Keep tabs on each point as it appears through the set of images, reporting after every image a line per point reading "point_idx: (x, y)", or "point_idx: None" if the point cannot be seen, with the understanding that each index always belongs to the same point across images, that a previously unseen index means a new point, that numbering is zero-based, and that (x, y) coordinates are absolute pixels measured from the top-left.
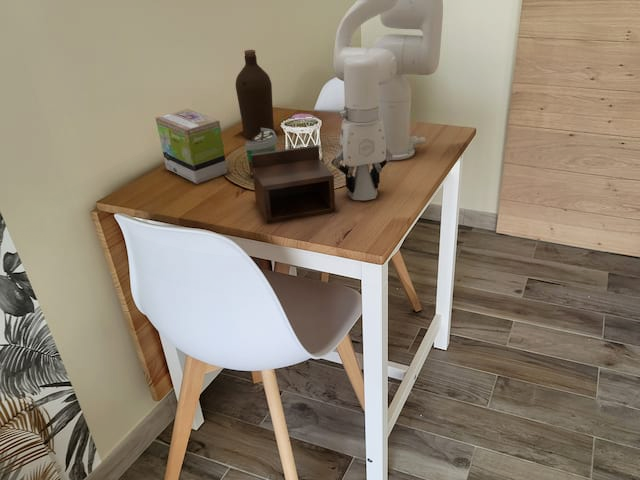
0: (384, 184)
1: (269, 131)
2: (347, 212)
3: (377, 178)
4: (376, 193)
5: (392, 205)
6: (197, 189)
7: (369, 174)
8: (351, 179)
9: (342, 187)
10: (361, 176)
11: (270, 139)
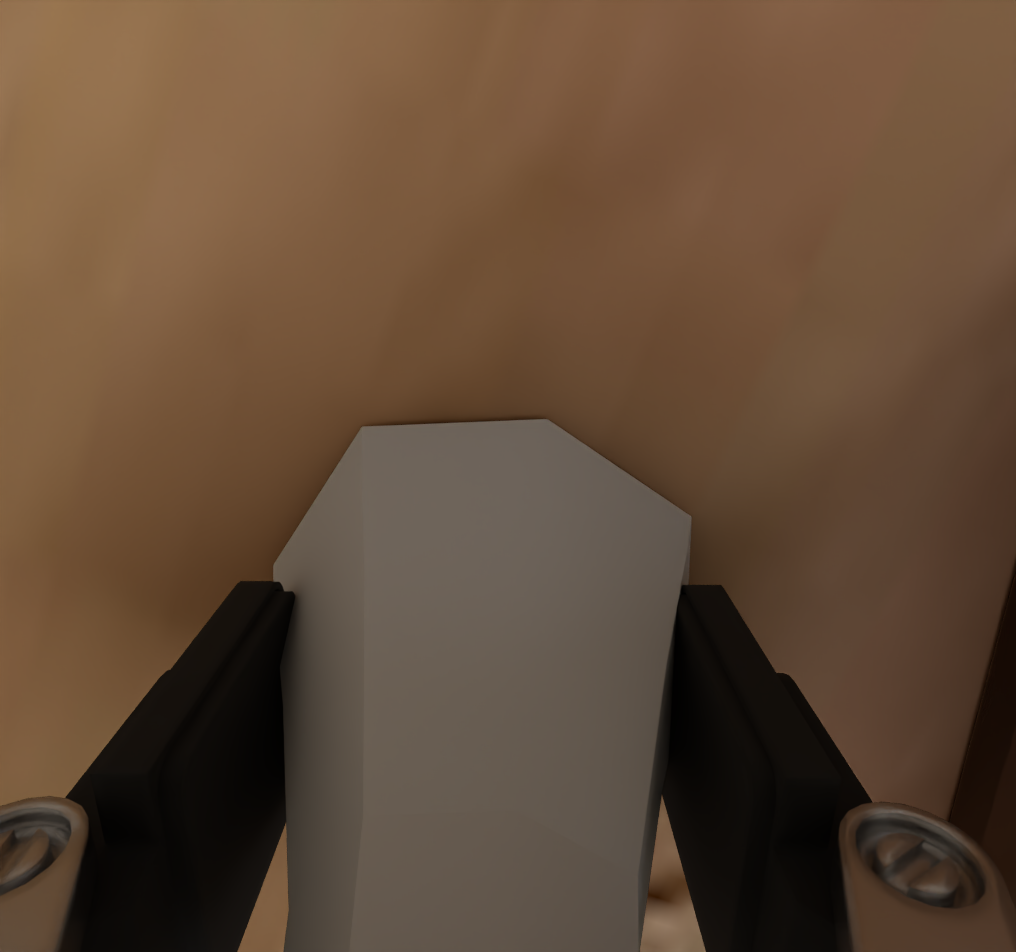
0: None
1: None
2: (948, 150)
3: (172, 687)
4: (299, 538)
5: (163, 103)
6: None
7: (325, 807)
8: (812, 752)
9: None
10: (558, 775)
11: None
